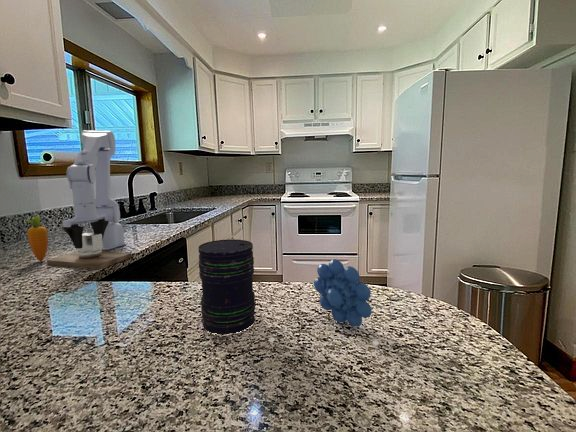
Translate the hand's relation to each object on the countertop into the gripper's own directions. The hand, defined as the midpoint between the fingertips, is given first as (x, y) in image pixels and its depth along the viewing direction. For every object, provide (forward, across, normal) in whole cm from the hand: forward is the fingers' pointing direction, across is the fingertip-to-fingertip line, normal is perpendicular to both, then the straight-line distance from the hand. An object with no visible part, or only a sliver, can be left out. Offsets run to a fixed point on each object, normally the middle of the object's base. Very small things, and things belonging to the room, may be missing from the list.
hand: (89, 245), depth 96 cm
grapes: (+5, +25, +81) cm, 85 cm away
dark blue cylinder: (+5, +28, +61) cm, 67 cm away
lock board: (+5, 0, 0) cm, 5 cm away
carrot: (+5, +3, -16) cm, 17 cm away
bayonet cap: (+4, 0, 0) cm, 4 cm away
